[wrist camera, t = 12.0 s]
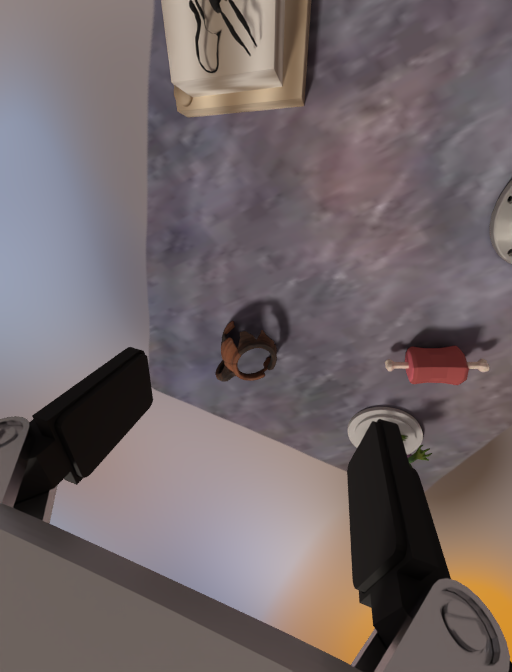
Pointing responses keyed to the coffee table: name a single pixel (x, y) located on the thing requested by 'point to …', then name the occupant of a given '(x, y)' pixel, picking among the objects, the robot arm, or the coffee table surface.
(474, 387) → the coffee table surface
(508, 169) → the coffee table surface
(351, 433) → the monster figurine
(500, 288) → the coffee table surface
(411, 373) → the meat
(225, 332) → the pottery mug
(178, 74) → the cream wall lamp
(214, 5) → the creature
